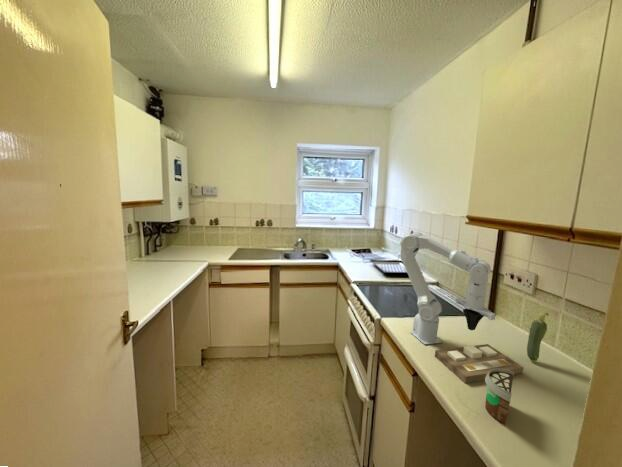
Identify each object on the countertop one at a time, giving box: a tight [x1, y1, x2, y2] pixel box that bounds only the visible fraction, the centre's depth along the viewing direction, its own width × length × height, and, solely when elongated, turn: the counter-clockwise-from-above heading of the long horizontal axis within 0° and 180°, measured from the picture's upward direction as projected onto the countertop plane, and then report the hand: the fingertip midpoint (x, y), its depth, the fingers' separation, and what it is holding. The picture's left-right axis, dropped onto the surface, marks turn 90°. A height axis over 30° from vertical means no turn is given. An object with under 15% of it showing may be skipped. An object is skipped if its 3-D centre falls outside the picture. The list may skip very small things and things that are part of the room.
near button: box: [447, 350, 466, 361], centre depth 96 cm, size 4×4×2 cm
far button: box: [479, 346, 497, 357], centre depth 100 cm, size 4×4×2 cm
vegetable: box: [526, 311, 549, 364], centre depth 98 cm, size 4×4×20 cm
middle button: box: [463, 345, 482, 359], centre depth 98 cm, size 4×4×2 cm
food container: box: [484, 369, 515, 426], centre depth 76 cm, size 12×6×10 cm, turn 141°
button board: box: [434, 343, 525, 384], centre depth 96 cm, size 14×24×3 cm, turn 105°
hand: (471, 329), depth 100 cm, fingers closed
